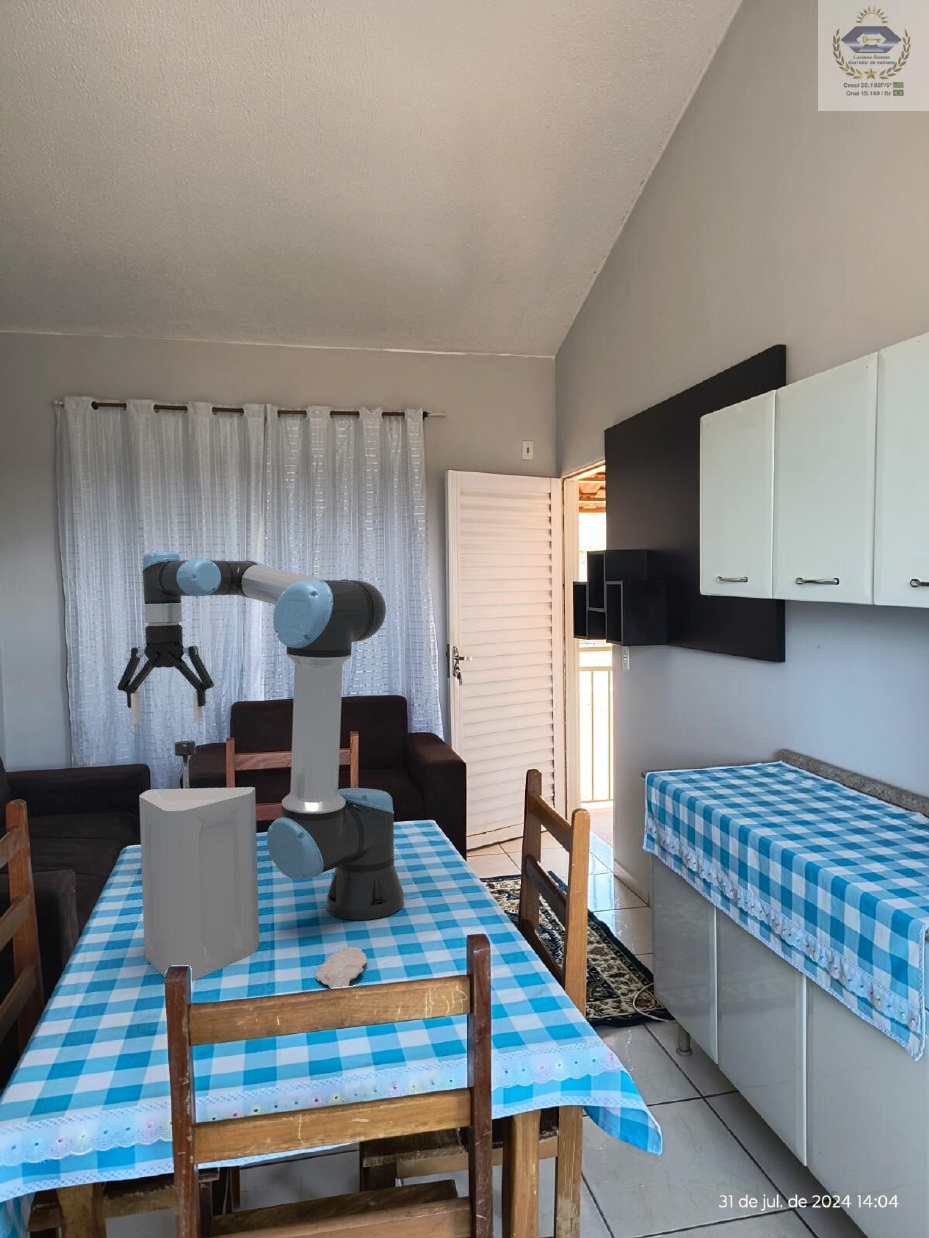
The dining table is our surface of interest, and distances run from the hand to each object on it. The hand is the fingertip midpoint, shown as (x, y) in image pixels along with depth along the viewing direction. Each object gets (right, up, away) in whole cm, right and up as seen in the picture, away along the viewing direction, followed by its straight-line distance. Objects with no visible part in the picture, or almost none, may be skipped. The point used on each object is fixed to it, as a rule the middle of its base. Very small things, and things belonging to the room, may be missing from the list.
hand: (167, 722), depth 176 cm
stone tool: (+44, -36, -43) cm, 72 cm away
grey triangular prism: (+18, -36, -38) cm, 55 cm away
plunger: (+2, -24, +6) cm, 25 cm away
